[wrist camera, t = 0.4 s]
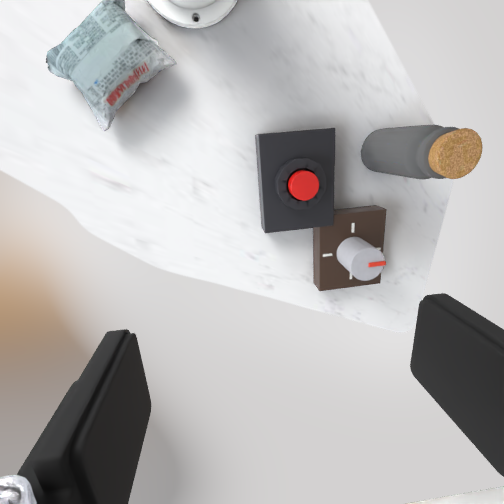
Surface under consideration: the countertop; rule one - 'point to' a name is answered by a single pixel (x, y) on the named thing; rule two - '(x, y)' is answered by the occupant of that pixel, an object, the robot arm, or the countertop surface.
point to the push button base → (283, 167)
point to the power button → (303, 185)
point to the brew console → (330, 237)
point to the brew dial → (360, 258)
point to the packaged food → (108, 59)
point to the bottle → (422, 151)
